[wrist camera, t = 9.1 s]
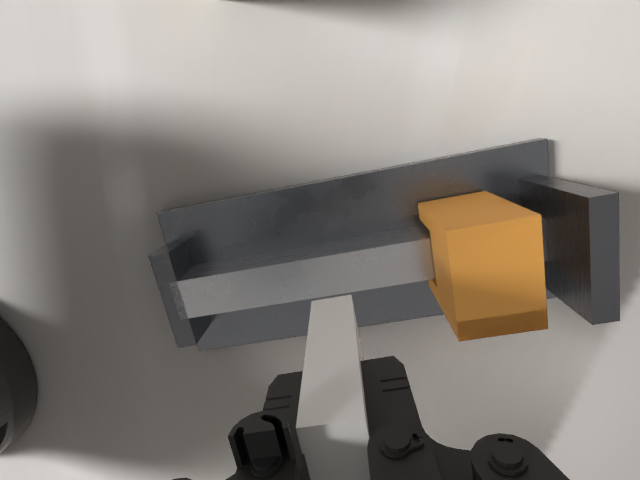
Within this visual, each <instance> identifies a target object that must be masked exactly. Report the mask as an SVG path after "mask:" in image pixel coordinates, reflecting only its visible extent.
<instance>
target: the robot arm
mask: <svg viewBox="0 0 640 480" xmlns="http://www.w3.org/2000/svg"><path fill="white" fill-rule="evenodd" d="M36 400H37V385H36V378H35V374H34V370H33V367H32V364H31V361H30V359H29V357H28V355H27V353H26V351H25V349H24V347H23V345H22V344H21V342H20V341H19V339H18V338H17V336H16V335H15V334H14V333H13V331H12V330H11V329H10V328H9V327H8V326H7V324H6V323H5V322H4V321H3V320H2V319H1V318H0V453H1V452H2V451H3V450H4V449H5V448H7V447H8V446H9V445H10V444H11V443H12V442H13V441H14V440H15V439H16V438H17V437H18V436H19V435H20V434H21V433H22V432H23V431H24V430H25V429H26V427H27V426H28V424H29V422H30V421H31V418H32V416H33V413H34V410H35V406H36ZM228 439H229V442H230V445H231V448H232V452H233V455H234V458H235V462H236V465H237V470H236V473H235V474H234V475H233V476H231V477H230V478H228V479H226V480H569V479H568V478H567V477H566V476H565V475H564V474H563V473H562V472H561V471H560V470H559V469H558V468H557V467H556V466H555V465H554V464H553V463H552V462H551V461H550V460H549V459H548V458H547V457H546V456H545V455H544V454H543V453H542V452H541V451H540V450H539V449H538V448H537V447H535V446H534V445H533V444H531V443H530V442H528V441H527V440H525V439H522V438H520V437H517V436H514V435H508V434H500V433H499V434H493V435H487V436H485V437H483V438H481V439H480V440H478V441H477V442H476V443H475V445H474V446H473V448H472V449H471V451H469V450H461V449H455V448H450V447H446V446H444V445H441V444H439V443H437V442H435V441H434V440H433V439H431V438H430V437H429V436H428V435H427V434H426V433H425V431H424V429H423V427H422V425H421V422H420V418H419V415H418V412H417V408H416V405H415V402H414V398H413V395H412V391H411V389H410V385H409V381H408V379H407V375H406V371H405V368H404V365H403V364H402V363H401V362H400V361H399V360H397V359H396V358H395V357H394V356H390V357H384V358H377V359H371V360H364V359H363V354H362V348H361V343H360V337H359V332H358V327H357V321H356V316H355V311H354V305H353V300H352V295H345V296H339V297H333V298H327V299H321V300H315V301H312V302H311V310H310V318H309V326H308V334H307V342H306V350H305V358H304V366H303V371H300V372H294V373H287V374H281V375H278V376H277V377H276V378H275V379H274V381H273V382H272V383H271V384H270V386H269V388H268V392H267V396H266V401H265V404H264V408H263V411H261V412H257V413H254V414H251V415H249V416H247V417H246V418H244V419H242V420H241V421H239V422H238V423H237V424H236V425H235V426H234V427H233V428H232V430H231V432H230V433H229V435H228ZM173 480H191V479H188V478H178V479H173Z"/></svg>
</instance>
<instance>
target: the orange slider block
mask: <svg viewBox="0 0 640 480" xmlns="http://www.w3.org/2000/svg"><path fill="white" fill-rule="evenodd" d="M418 210H419V218H420V220H421V221H422V222H423V224H424V225H425V226H426V227H427V228H428V229H429V231H430V236H431V244H432V252H433V259H434V267H435V274H436V279H431V280H428V283H429V287H430V289H431V290H432V292H433V294H434V296H435V298H436V300H437V302H438V303H439V305H440V307H441V309H442V311H443V313H444V314H445V316H446V318H447V320H448V322H449V324H450V325H451V327H452V329H453V331H454V333H455V335H456V336H457V338H458V340H459V341H465V340H472V339H479V338H486V337H493V336H500V335H507V334H514V333H521V332H528V331H535V330H542V329H548V320H547V303H546V286H545V269H544V252H543V235H542V218H541V214H538V213H536V212H534V211H531V210H529V209H527V208H524V207H522V206H520V205H517V204H515V203H513V202H510V201H508V200H506V199H503V198H501V197H499V196H496V195H494V194H492V193H489V192H487V191H482V192H476V193H471V194H465V195H459V196H454V197H448V198H443V199H437V200H432V201H426V202H421V203H418Z"/></svg>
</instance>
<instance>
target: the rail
mask: <svg viewBox="0 0 640 480" xmlns="http://www.w3.org/2000/svg"><path fill="white" fill-rule="evenodd" d="M482 191H487V192H489V193H492V194H494V195H496V196H499V197H501V198H503V199H506V200H508V201H510V202H513V203H515V204H517V205H520V206H522V207H524V208H527V209H529V210H531V211H534V212H536V213H538V214H541V218H542V235H543V252H544V269H545V286H546V299H549V298H555V297H558V298H559V299H560V300H561V301H563V302H564V303H565V304H566V305H568V306H569V307H570V308H572V309H573V310H574V311H575V312H577V313H578V314H579V315H580V316H582V317H583V318H584V319H586V320H587V321H588V322H589V323H591V324H592V325H594V324H601V323H608V322H615V321H620V288H619V193H618V192H614V191H610V190H605V189H601V188H596V187H592V186H588V185H583V184H579V183H574V182H570V181H566V180H561V179H557V178H552V177H549V162H548V143H547V139H542V138H539V139H533V140H528V141H523V142H518V143H512V144H507V145H502V146H497V147H492V148H486V149H481V150H476V151H471V152H466V153H460V154H455V155H450V156H445V157H440V158H434V159H429V160H424V161H419V162H413V163H408V164H403V165H398V166H393V167H387V168H382V169H377V170H372V171H367V172H361V173H356V174H351V175H346V176H341V177H335V178H330V179H325V180H320V181H314V182H309V183H304V184H299V185H294V186H288V187H283V188H278V189H273V190H268V191H262V192H257V193H252V194H247V195H242V196H236V197H231V198H226V199H221V200H216V201H210V202H205V203H200V204H195V205H189V206H184V207H179V208H174V209H169V210H164V211H161V212H159V213H157V215H158V218H159V222H160V225H161V228H162V231H163V235H164V238H165V241H166V244H167V245H165V246H164V247H162V248H161V249H159V250H158V251H156V252H154V253H153V254H151V255H150V256H149V259H150V262H151V265H152V268H153V271H154V274H155V278H156V281H157V284H158V287H159V290H160V293H161V296H162V299H163V303H164V306H165V309H166V312H167V315H168V318H169V321H170V324H171V328H172V331H173V334H174V337H175V340H176V343H177V346H178V348H179V347H185V346H192V345H197V346H198V349H199V351H203V350H209V349H216V348H223V347H229V346H236V345H243V344H249V343H256V342H263V341H269V340H276V339H283V338H289V337H296V336H302V335H307V334H308V326H309V318H310V310H311V302H312V301H315V300H321V299H327V298H333V297H339V296H345V295H352V300H353V305H354V311H355V316H356V321H357V327H362V326H369V325H376V324H382V323H389V322H396V321H402V320H409V319H416V318H422V317H429V316H436V315H442V314H444V313H443V311H442V309H441V307H440V305H439V303H438V302H437V300H436V298H435V296H434V294H433V292H432V290H431V289H430V287H429V283H428V280H431V279H436V274H435V267H434V259H433V252H432V244H431V236H430V231H429V229H428V228H427V227H426V226H425V225H424V224H423V222H422V221H421V220H420V218H419V210H418V203H421V202H426V201H432V200H437V199H443V198H448V197H454V196H459V195H465V194H471V193H476V192H482Z"/></svg>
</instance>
